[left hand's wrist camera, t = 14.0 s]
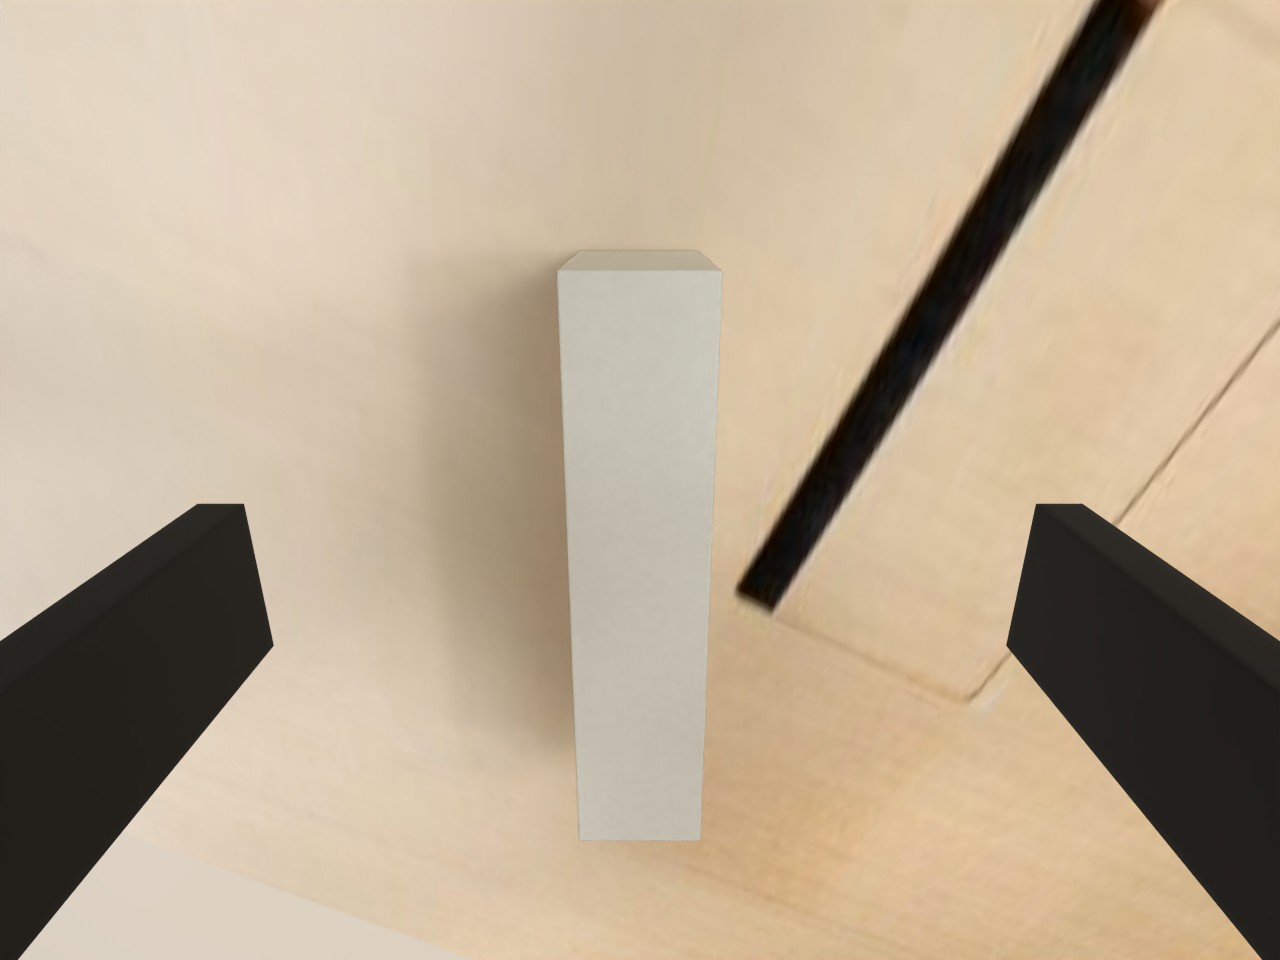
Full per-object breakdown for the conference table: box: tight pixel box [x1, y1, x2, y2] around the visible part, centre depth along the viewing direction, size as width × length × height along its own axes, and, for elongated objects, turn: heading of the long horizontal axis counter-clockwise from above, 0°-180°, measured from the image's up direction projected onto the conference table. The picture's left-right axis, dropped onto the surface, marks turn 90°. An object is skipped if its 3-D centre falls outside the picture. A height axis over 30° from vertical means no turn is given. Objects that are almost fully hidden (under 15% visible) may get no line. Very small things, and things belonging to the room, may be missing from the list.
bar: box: [557, 251, 722, 841], centre depth 33 cm, size 25×5×9 cm, turn 0°
